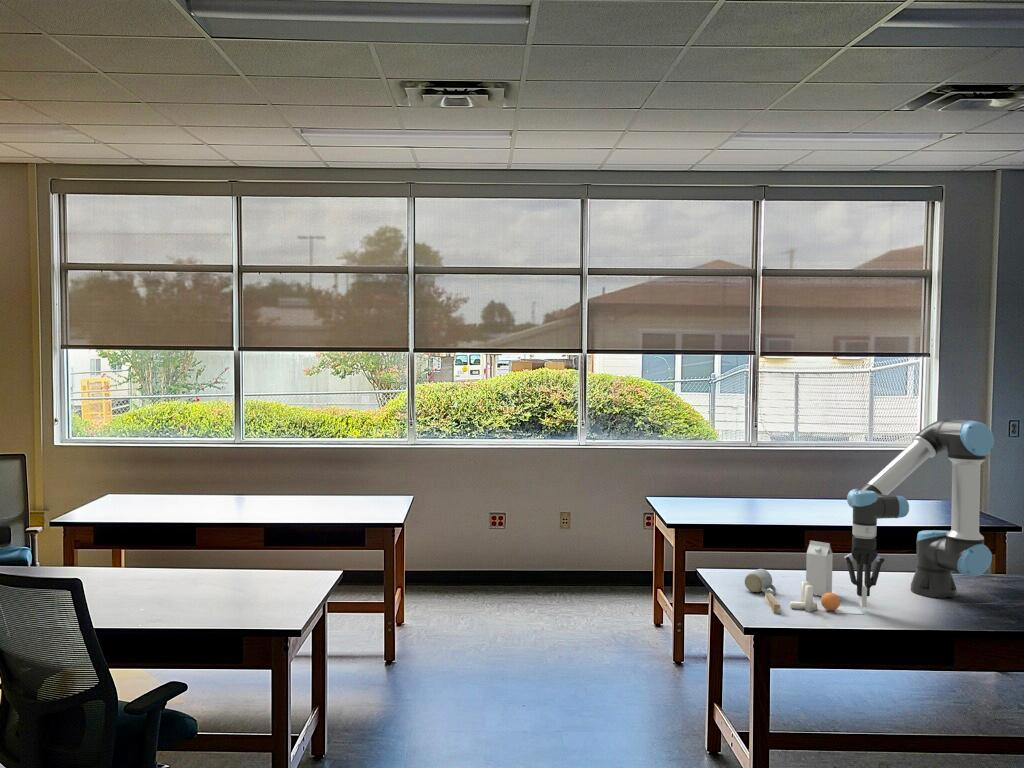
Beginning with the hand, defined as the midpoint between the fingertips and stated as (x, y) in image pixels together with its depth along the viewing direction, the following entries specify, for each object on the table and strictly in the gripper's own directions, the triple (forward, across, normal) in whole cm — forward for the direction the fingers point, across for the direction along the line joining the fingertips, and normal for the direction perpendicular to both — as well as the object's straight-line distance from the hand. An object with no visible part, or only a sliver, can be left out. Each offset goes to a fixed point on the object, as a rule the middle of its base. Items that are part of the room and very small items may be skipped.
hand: (863, 605), depth 269 cm
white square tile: (+2, -6, 0) cm, 6 cm away
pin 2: (+2, -18, -2) cm, 19 cm away
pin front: (+1, -15, 0) cm, 15 cm away
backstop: (+2, -30, 0) cm, 30 cm away
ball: (-1, -11, -1) cm, 11 cm away
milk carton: (+2, -9, +20) cm, 22 cm away
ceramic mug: (+2, -30, +20) cm, 36 cm away
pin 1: (+2, -18, +2) cm, 19 cm away
